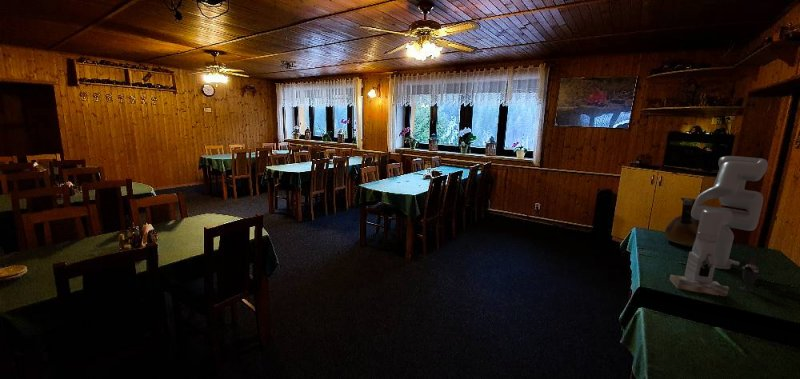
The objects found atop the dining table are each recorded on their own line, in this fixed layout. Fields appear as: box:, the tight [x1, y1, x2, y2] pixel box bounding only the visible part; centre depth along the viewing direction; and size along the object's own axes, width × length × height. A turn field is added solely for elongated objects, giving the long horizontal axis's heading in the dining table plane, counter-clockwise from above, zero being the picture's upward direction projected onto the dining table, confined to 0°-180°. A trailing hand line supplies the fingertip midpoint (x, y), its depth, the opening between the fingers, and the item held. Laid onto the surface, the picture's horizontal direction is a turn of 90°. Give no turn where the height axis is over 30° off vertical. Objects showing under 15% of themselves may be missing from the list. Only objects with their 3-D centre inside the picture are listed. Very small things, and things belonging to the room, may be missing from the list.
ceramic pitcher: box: [664, 197, 699, 248], centre depth 212 cm, size 20×20×30 cm
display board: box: [669, 274, 730, 297], centre depth 158 cm, size 18×10×4 cm, turn 69°
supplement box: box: [683, 251, 717, 284], centre depth 158 cm, size 7×7×13 cm
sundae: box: [738, 258, 762, 293], centre depth 156 cm, size 7×7×15 cm
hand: (699, 272), depth 158 cm, fingers closed on supplement box, 8 cm apart
